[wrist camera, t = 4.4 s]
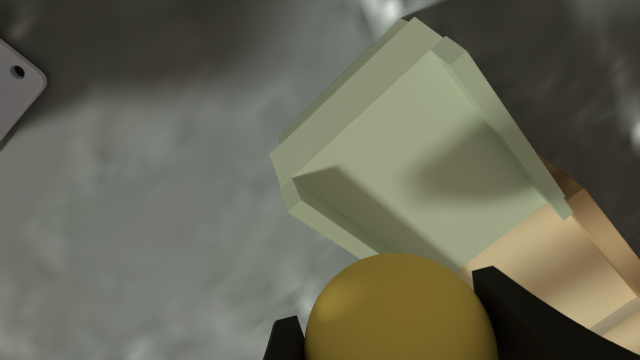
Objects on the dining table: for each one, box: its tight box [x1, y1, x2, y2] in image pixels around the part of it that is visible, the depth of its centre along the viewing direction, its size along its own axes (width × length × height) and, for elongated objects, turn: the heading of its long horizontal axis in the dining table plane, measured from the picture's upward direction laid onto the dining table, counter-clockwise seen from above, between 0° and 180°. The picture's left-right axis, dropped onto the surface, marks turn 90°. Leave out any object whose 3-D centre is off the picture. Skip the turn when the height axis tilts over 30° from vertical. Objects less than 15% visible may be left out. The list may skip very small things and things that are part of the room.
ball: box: [304, 253, 498, 360], centre depth 13 cm, size 5×5×5 cm
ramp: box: [269, 17, 573, 273], centre depth 19 cm, size 11×7×6 cm, turn 44°
